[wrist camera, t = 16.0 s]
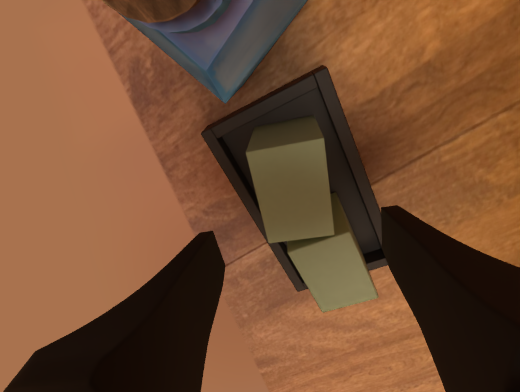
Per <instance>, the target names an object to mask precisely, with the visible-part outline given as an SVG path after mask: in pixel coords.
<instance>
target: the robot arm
mask: <svg viewBox="0 0 520 392" xmlns="http://www.w3.org/2000/svg"><path fill="white" fill-rule="evenodd" d="M381 227H382V249H383V252H384V255H385V258H386V260H387V263H388V265H389V268H390V270H391V272H392V274H393V276H394V278H395V280H396V282H397V284H398V286H399V287H400V289H401V291H402V293H403V295H404V297H405V299H406V301H407V303H408V304H409V306H410V308H411V310H412V312H413V314H414V316H415V318H416V320H417V322H418V324H419V326H420V328H421V330H422V333H423V335H424V338H425V340H426V343H427V345H428V348H429V350H430V352H431V355H432V357H433V360H434V363H435V365H436V368H437V370H438V373H439V375H440V378H441V381H442V383H443V386H444V389H445V391H446V392H520V268H519V267H516V266H514V265H511V264H508V263H506V262H503V261H501V260H498V259H496V258H494V257H491V256H489V255H487V254H484V253H482V252H480V251H478V250H475V249H473V248H471V247H469V246H467V245H465V244H463V243H461V242H459V241H457V240H455V239H453V238H451V237H449V236H448V235H446V234H444V233H442V232H440V231H439V230H437V229H435V228H433V227H432V226H430V225H428V224H427V223H425V222H423V221H422V220H420V219H419V218H417V217H415V216H414V215H412V214H411V213H409V212H407V211H406V210H404V209H403V208H401V207H399V206H398V205H396V206H389V207H381ZM224 272H225V263H224V260H223V258H222V255H221V252H220V249H219V247H218V244H217V241H216V238H215V235H214V233H213V231H208V232H201V233H199V234H198V235H197V236H196V237H195V238H194V239H193V240H192V241H191V242H190V243H189V244H188V245H187V246H186V247H185V248H184V249H183V250H182V251H181V252H180V253H179V254H178V255H176V257H175V258H173V259H172V260H171V261H170V262H169V263H168V264H167V265H166V266H165V267H164V268H163V269H162V270H161V271H160V272H158V273H157V274H156V275H155V276H154V277H153V278H152V279H151V280H149V281H148V282H147V283H146V284H145V285H143V286H142V287H141V288H140V289H139V290H137V291H136V292H134V293H133V294H132V295H130V296H129V297H128V298H126V299H125V300H124V301H122V302H120V303H119V304H118V305H116V306H115V307H113V308H112V309H110V310H109V311H108V312H106V313H104V314H103V315H101V316H99V317H98V318H96V319H94V320H93V321H91V322H90V323H88V324H86V325H84V326H83V327H81V328H79V329H77V330H76V331H74V332H72V333H70V334H68V335H66V336H64V337H62V338H60V339H59V340H57V341H55V342H53V343H51V344H49V345H47V346H45V347H43V348H41V349H39V350H37V351H35V352H34V353H33V355H32V356H31V357H30V359H29V360H28V361H27V362H26V364H25V365H24V366H23V367H22V369H21V370H20V371H19V373H18V374H17V375H16V376H15V378H14V379H13V380H12V381H11V383H10V384H9V385H8V387H7V388H6V389H5V390H4V392H201V385H202V377H203V370H204V364H205V358H206V352H207V345H208V341H209V336H210V332H211V328H212V324H213V321H214V317H215V313H216V310H217V306H218V302H219V298H220V295H221V291H222V287H223V280H224Z"/></svg>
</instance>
